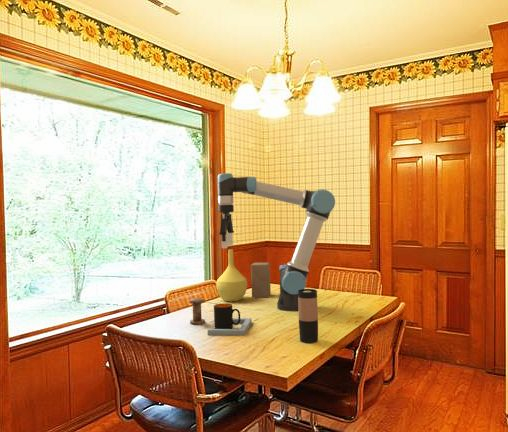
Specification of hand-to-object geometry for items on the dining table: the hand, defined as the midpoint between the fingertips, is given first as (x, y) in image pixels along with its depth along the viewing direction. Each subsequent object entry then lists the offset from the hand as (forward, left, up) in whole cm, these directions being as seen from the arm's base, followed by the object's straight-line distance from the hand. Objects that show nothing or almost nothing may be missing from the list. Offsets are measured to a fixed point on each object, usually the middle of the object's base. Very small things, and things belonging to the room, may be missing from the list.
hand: (227, 246), depth 210 cm
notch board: (-5, +22, -35) cm, 41 cm away
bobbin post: (+13, +13, -35) cm, 39 cm away
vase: (+6, -37, -35) cm, 51 cm away
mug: (-4, +22, -35) cm, 41 cm away
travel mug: (-40, +38, -35) cm, 65 cm away
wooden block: (-10, -48, -35) cm, 60 cm away
